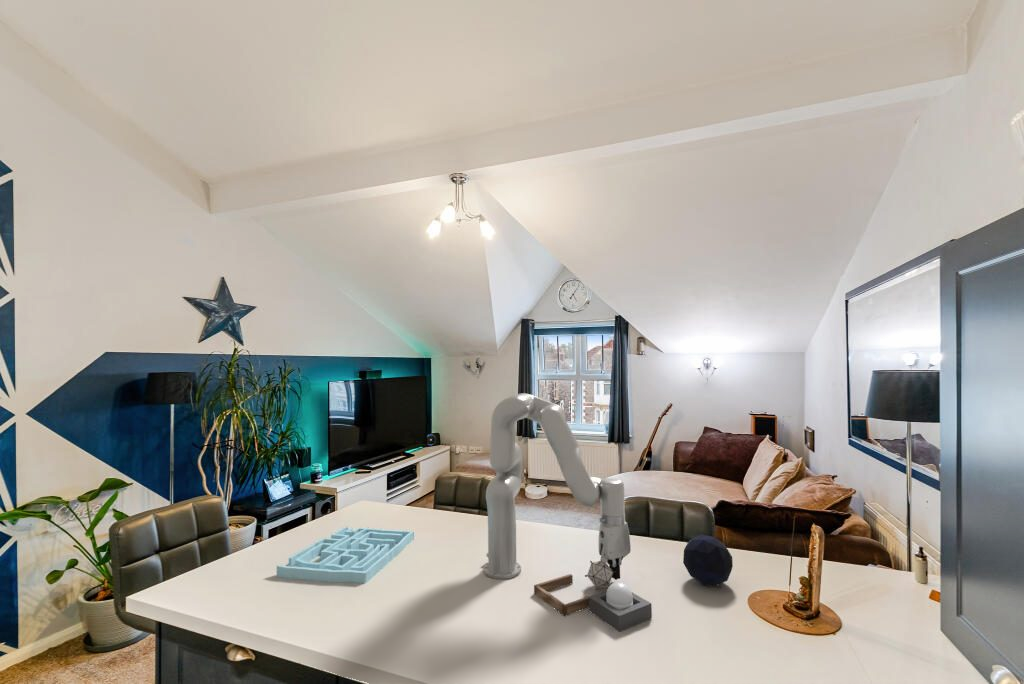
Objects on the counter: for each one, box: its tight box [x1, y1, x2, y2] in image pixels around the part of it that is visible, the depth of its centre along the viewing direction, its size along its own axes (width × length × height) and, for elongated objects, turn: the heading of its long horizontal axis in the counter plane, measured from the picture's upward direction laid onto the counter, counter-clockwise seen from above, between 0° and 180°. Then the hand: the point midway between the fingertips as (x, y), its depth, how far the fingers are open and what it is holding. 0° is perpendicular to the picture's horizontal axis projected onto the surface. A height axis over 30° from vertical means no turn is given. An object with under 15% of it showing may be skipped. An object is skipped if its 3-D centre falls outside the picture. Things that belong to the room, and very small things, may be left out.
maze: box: [276, 525, 415, 584], centre depth 170 cm, size 40×33×4 cm
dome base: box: [588, 589, 653, 632], centre depth 128 cm, size 12×12×4 cm
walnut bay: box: [533, 573, 601, 617], centre depth 137 cm, size 15×14×2 cm
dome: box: [606, 581, 633, 610], centre depth 128 cm, size 7×7×7 cm
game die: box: [584, 560, 616, 591], centre depth 144 cm, size 9×8×10 cm
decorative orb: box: [682, 534, 734, 587], centre depth 146 cm, size 14×15×15 cm
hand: (614, 577), depth 147 cm, fingers closed
